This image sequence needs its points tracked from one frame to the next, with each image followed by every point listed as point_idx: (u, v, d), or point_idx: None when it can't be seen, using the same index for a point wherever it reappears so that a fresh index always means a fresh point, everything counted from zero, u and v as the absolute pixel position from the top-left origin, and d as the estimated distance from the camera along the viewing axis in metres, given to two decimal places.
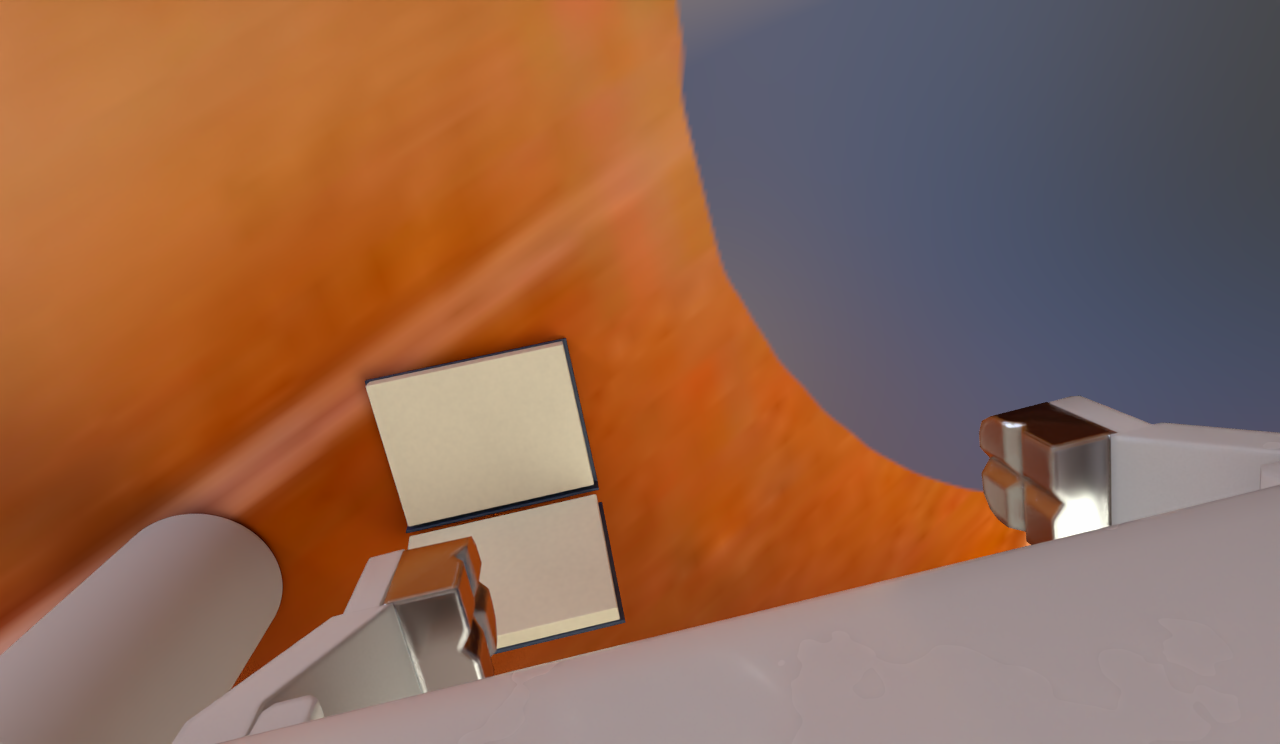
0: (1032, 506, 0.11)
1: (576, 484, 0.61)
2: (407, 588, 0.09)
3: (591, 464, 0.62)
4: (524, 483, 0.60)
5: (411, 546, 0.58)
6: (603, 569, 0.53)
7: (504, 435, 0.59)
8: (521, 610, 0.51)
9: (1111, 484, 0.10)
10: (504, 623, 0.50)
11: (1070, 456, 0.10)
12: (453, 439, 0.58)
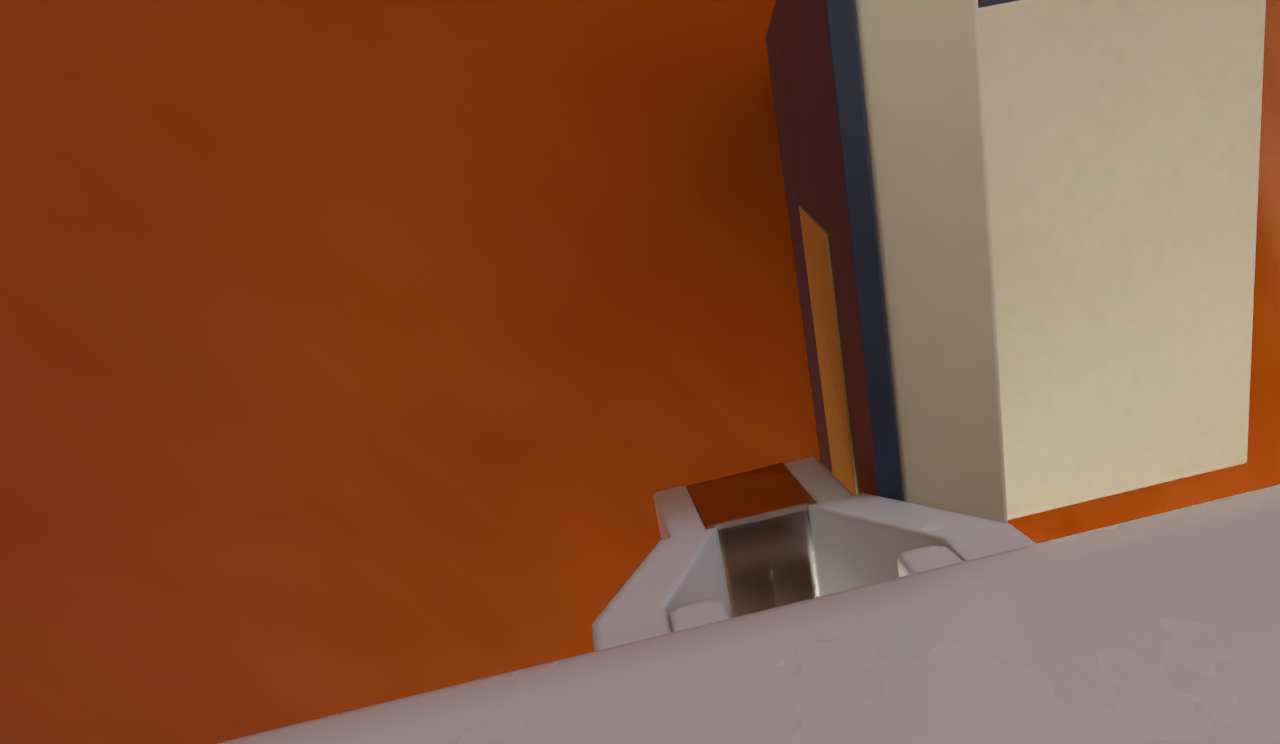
0: None
1: None
2: (722, 515, 0.10)
3: None
4: None
5: None
6: None
7: (1064, 326, 0.22)
8: None
9: (815, 555, 0.10)
10: None
11: (769, 527, 0.10)
12: (1079, 190, 0.21)
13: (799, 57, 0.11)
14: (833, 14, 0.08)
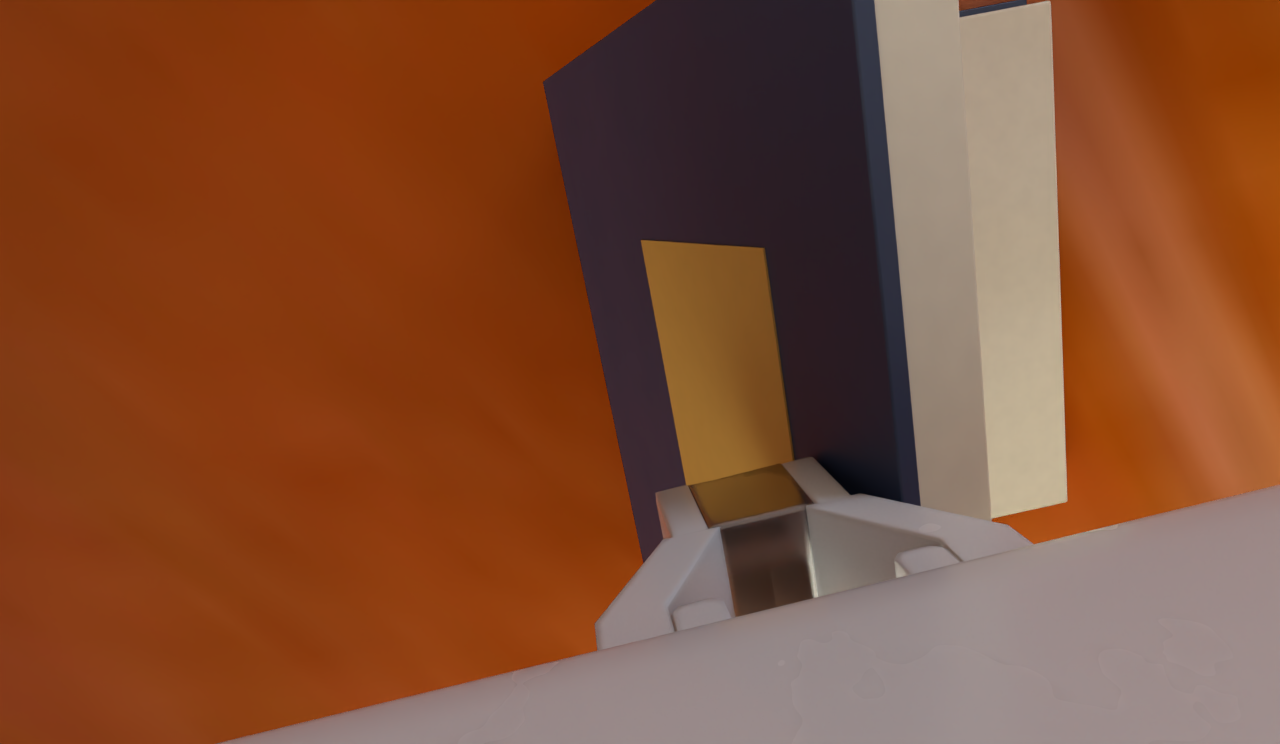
0: None
1: None
2: (724, 515, 0.10)
3: None
4: None
5: None
6: None
7: None
8: None
9: (813, 556, 0.10)
10: None
11: (766, 528, 0.10)
12: None
13: (704, 77, 0.11)
14: (858, 11, 0.08)
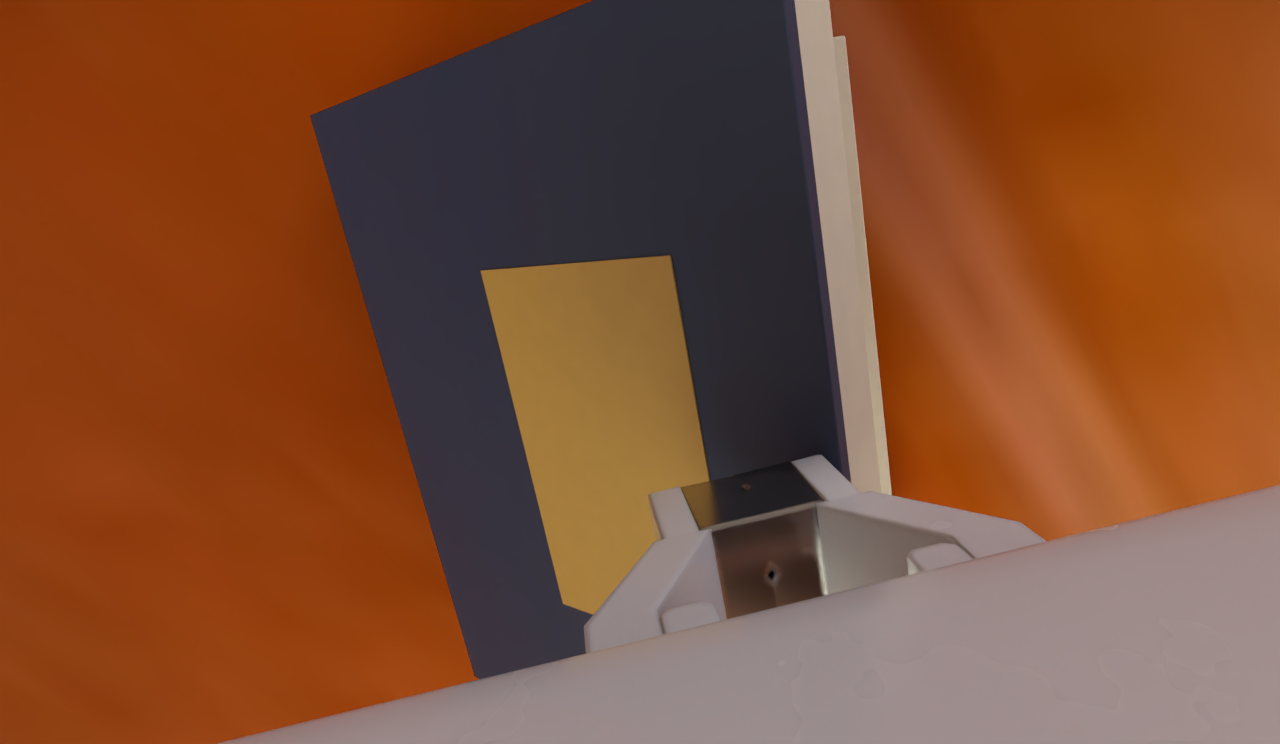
0: None
1: None
2: (715, 517, 0.10)
3: None
4: None
5: None
6: None
7: None
8: None
9: (822, 553, 0.10)
10: None
11: (777, 525, 0.10)
12: None
13: (590, 102, 0.12)
14: (791, 42, 0.10)
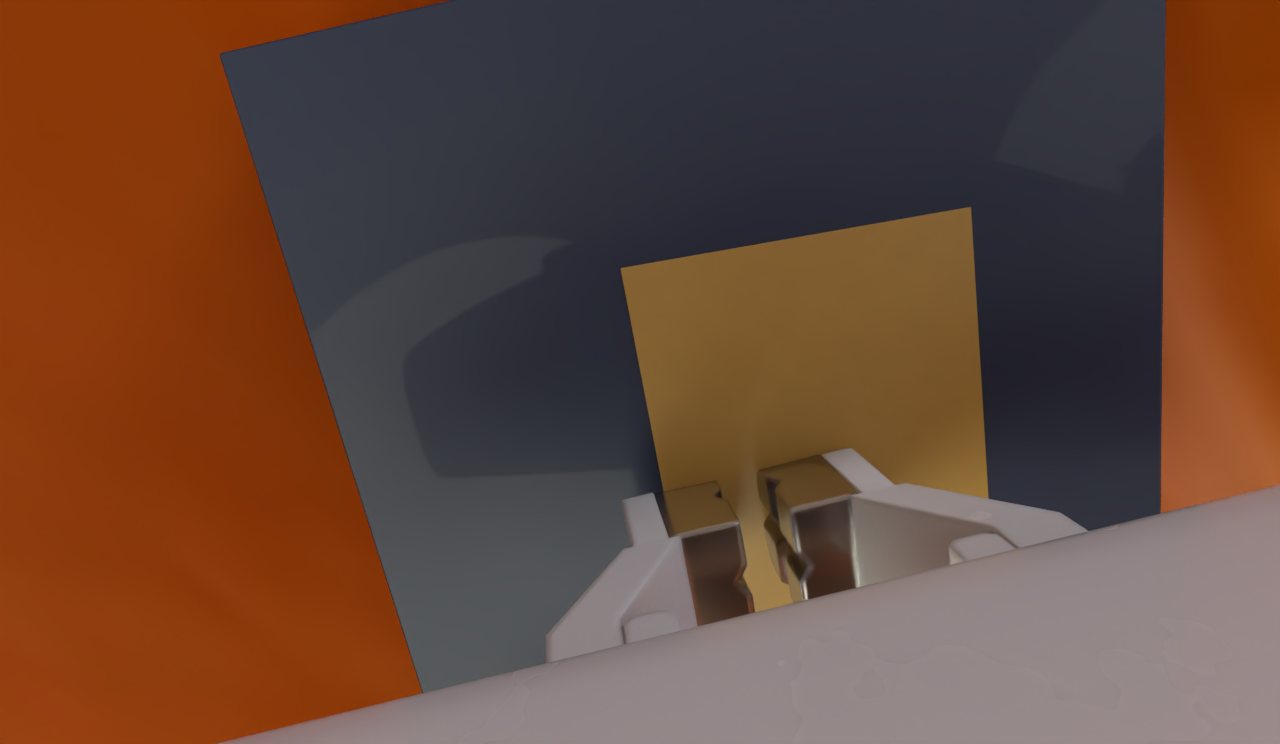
0: (789, 565, 0.10)
1: None
2: (686, 524, 0.10)
3: None
4: None
5: None
6: None
7: None
8: None
9: (856, 545, 0.10)
10: None
11: (811, 517, 0.10)
12: None
13: (872, 25, 0.10)
14: None
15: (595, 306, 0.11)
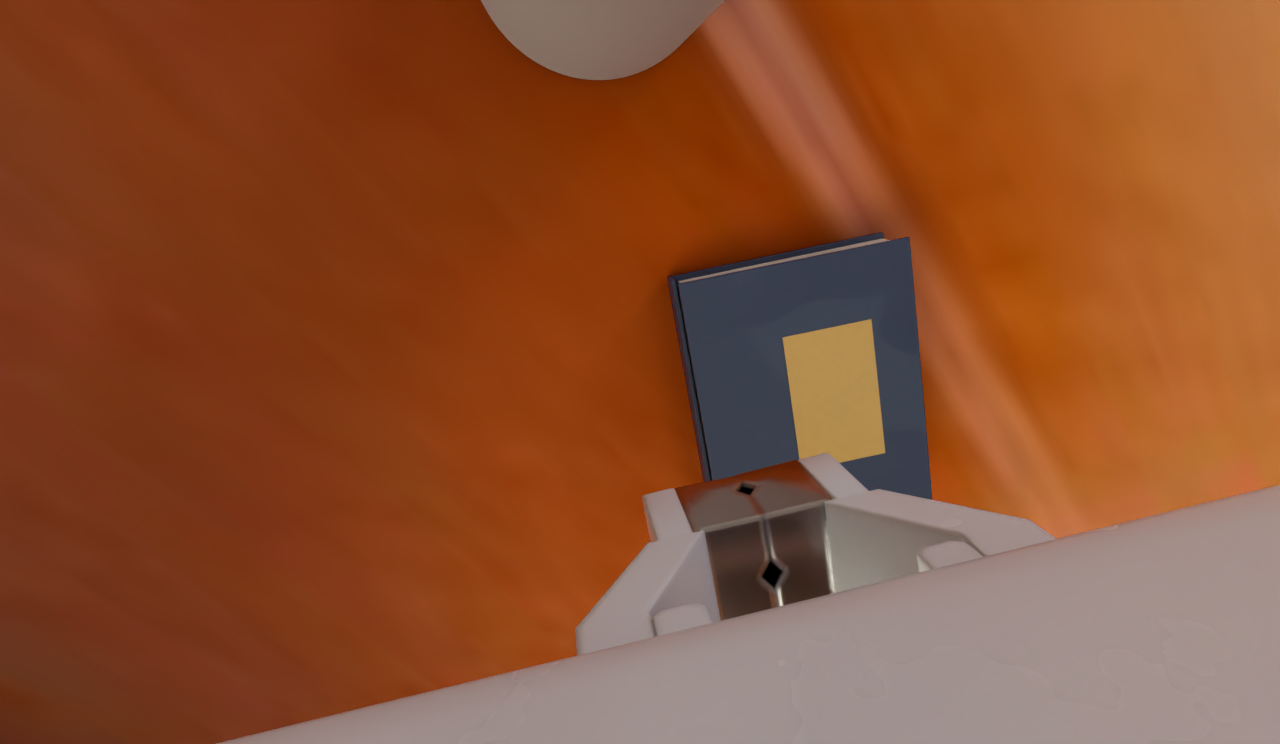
0: (764, 570, 0.10)
1: None
2: (710, 518, 0.10)
3: None
4: None
5: None
6: None
7: None
8: None
9: (831, 551, 0.10)
10: None
11: (785, 523, 0.10)
12: None
13: (846, 276, 0.40)
14: (911, 262, 0.40)
15: (774, 348, 0.40)
